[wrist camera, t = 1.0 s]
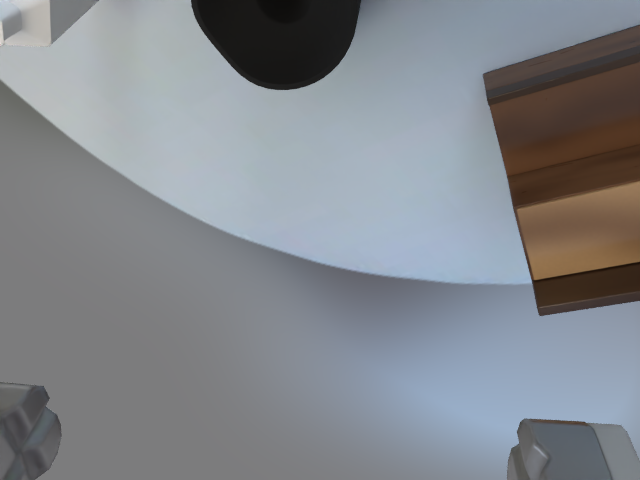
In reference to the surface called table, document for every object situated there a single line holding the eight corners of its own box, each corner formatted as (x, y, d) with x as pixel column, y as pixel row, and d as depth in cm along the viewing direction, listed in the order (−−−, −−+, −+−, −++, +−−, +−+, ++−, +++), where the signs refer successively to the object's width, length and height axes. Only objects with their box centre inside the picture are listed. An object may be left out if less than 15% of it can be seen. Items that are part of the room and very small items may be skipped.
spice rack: (482, 73, 41) (494, 140, 34) (717, 0, 36) (793, 60, 28) (523, 234, 50) (539, 316, 43) (717, 194, 45) (775, 280, 37)
